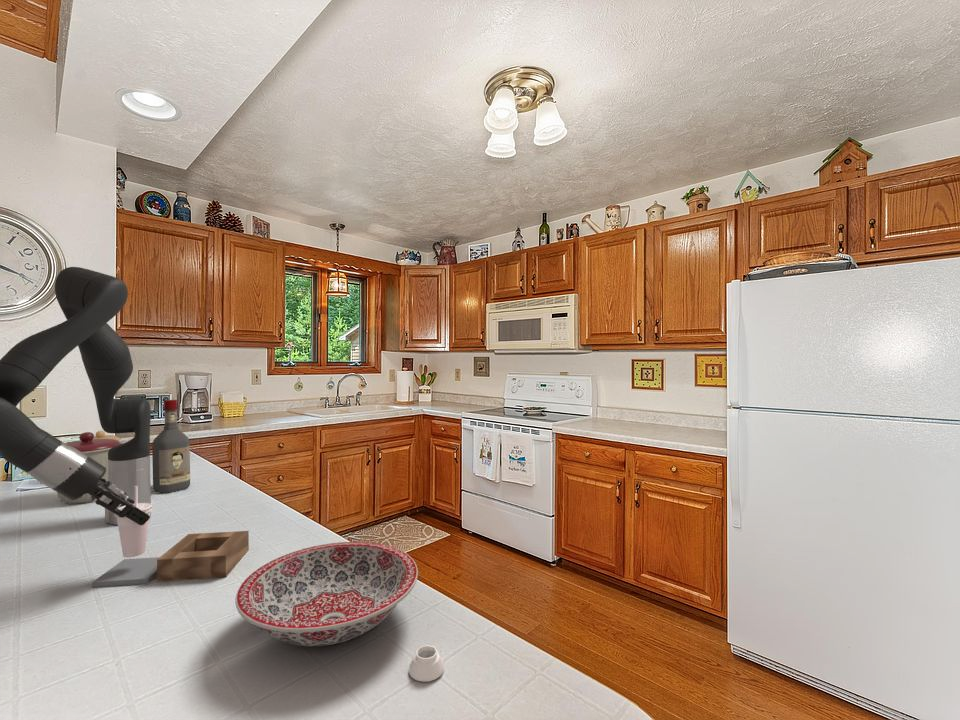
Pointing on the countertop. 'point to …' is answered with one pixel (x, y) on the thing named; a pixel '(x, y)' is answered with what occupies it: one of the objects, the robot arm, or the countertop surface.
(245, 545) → the frame
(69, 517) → the countertop surface
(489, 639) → the countertop surface
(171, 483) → the liquor
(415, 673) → the lidless jar
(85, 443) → the canister
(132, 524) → the smoothie
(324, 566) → the ceramic bowl
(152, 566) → the slate coaster
